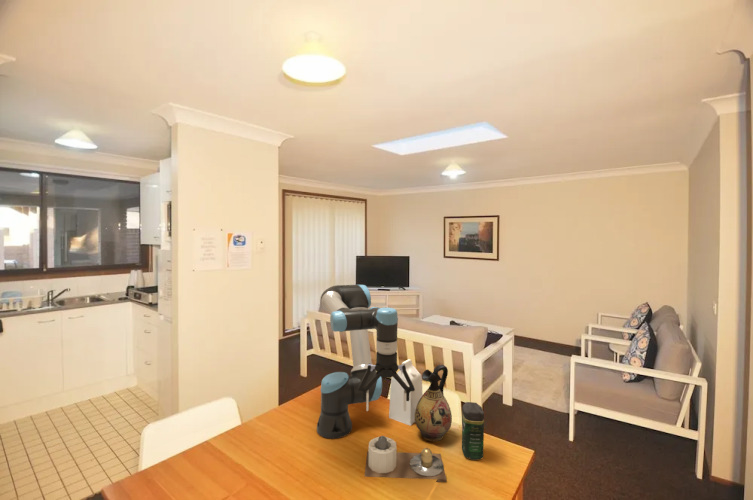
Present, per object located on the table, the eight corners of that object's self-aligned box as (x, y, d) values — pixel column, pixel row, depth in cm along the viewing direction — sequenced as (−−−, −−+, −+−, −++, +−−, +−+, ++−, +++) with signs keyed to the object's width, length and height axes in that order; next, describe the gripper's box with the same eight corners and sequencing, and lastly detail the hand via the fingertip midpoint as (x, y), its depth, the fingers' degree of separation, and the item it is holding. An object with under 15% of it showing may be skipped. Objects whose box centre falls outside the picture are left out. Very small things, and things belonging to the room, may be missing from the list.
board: (364, 479, 118) (364, 476, 118) (367, 453, 132) (367, 451, 132) (446, 482, 116) (446, 479, 116) (440, 456, 130) (440, 453, 130)
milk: (402, 407, 168) (402, 355, 168) (423, 414, 162) (423, 360, 161) (388, 417, 159) (389, 362, 158) (410, 425, 152) (410, 367, 151)
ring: (363, 466, 123) (363, 447, 122) (377, 452, 131) (377, 434, 131) (387, 476, 118) (388, 456, 117) (400, 460, 126) (401, 442, 126)
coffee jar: (485, 462, 127) (486, 412, 127) (463, 460, 128) (464, 411, 128) (480, 446, 137) (481, 400, 136) (460, 445, 138) (460, 399, 137)
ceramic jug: (428, 450, 134) (429, 375, 133) (407, 431, 148) (408, 362, 147) (462, 439, 142) (463, 367, 141) (439, 421, 155) (440, 356, 155)
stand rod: (376, 464, 124) (376, 437, 124) (380, 459, 127) (380, 432, 126) (384, 467, 122) (384, 439, 122) (388, 462, 125) (388, 435, 125)
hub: (404, 469, 122) (404, 452, 121) (417, 451, 132) (418, 435, 132) (436, 481, 116) (436, 463, 115) (448, 461, 126) (448, 445, 126)
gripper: (351, 354, 120) (351, 414, 121) (422, 355, 120) (421, 414, 121) (352, 347, 127) (352, 404, 128) (419, 348, 128) (419, 404, 128)
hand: (386, 409), depth 124 cm, fingers open, 13 cm apart
